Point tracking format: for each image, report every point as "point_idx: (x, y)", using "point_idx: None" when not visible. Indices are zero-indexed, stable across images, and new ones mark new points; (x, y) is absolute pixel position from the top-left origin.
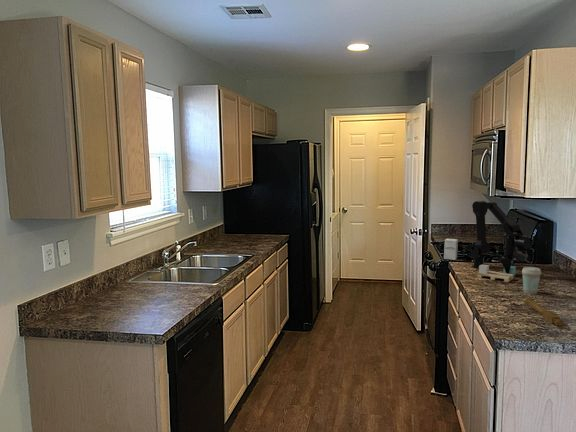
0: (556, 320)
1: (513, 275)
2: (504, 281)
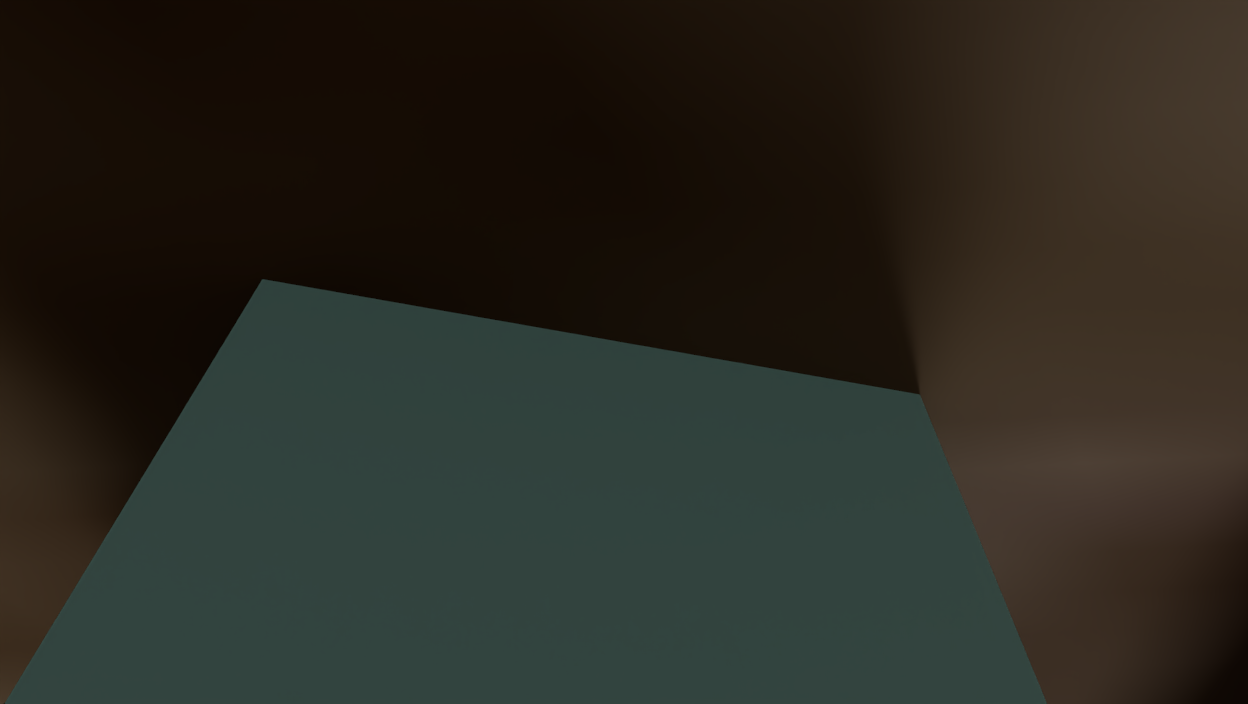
0: None
1: (740, 401)
2: None
